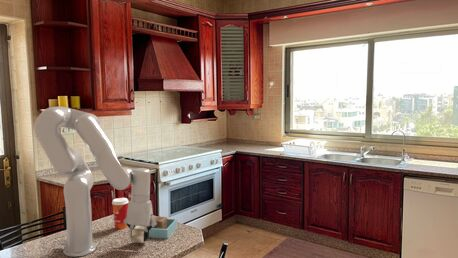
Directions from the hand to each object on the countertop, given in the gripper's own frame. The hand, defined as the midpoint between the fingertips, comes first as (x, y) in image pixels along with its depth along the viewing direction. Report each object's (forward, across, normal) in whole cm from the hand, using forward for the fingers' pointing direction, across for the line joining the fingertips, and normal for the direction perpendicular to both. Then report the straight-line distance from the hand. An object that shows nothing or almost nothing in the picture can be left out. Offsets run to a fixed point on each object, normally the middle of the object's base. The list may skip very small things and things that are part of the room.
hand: (139, 238), depth 146 cm
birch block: (+1, 0, 0) cm, 1 cm away
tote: (+2, +3, +14) cm, 15 cm away
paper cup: (+3, -17, +16) cm, 23 cm away
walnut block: (+2, +3, +14) cm, 14 cm away
